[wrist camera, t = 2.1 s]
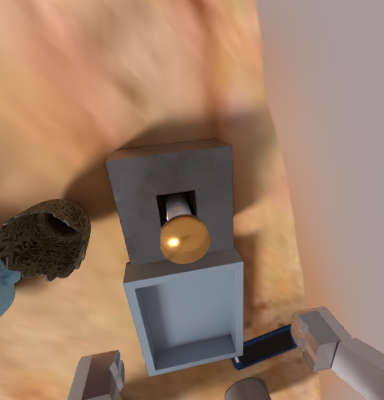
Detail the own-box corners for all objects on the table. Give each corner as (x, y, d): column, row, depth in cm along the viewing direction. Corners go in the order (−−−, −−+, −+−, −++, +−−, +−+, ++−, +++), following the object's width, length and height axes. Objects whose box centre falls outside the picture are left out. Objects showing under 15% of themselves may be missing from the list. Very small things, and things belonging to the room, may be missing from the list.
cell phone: (226, 347, 43) (227, 351, 43) (292, 321, 43) (294, 324, 43) (235, 367, 46) (236, 371, 46) (297, 343, 46) (299, 346, 46)
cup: (108, 194, 27) (91, 225, 20) (96, 243, 30) (77, 287, 22) (41, 176, 25) (-4, 204, 18) (34, 230, 28) (-9, 274, 20)
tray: (235, 333, 41) (243, 355, 38) (149, 352, 40) (149, 376, 36) (233, 244, 33) (243, 261, 30) (126, 263, 32) (123, 283, 28)
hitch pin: (189, 202, 30) (211, 259, 18) (160, 206, 29) (164, 267, 18) (186, 173, 28) (208, 217, 17) (155, 178, 28) (156, 225, 16)
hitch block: (219, 223, 32) (233, 248, 26) (135, 237, 30) (131, 265, 25) (216, 138, 27) (232, 145, 21) (115, 149, 26) (105, 161, 20)
